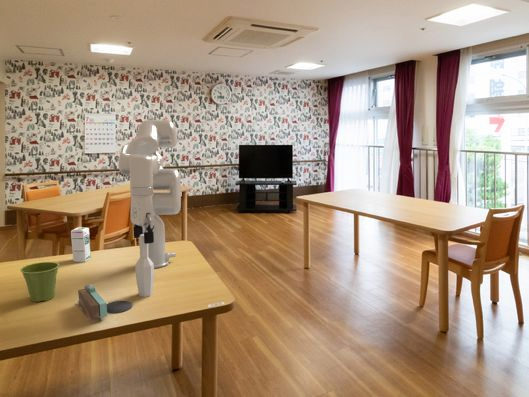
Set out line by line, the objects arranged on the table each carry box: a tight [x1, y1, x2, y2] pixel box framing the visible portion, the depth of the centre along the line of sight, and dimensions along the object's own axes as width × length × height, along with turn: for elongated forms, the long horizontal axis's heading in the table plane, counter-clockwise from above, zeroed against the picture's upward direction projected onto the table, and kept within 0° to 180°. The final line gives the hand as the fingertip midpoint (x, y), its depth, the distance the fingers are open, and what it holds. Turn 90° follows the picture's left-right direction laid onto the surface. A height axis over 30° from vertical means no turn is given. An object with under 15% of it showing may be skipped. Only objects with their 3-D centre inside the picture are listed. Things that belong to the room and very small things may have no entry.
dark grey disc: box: [107, 300, 133, 314], centre depth 136 cm, size 9×9×1 cm
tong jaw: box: [88, 285, 108, 319], centre depth 131 cm, size 2×14×6 cm, turn 37°
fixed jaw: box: [77, 284, 100, 324], centre depth 132 cm, size 5×18×6 cm, turn 38°
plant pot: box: [20, 261, 60, 303], centre depth 141 cm, size 12×12×11 cm
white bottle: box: [134, 234, 155, 298], centre depth 145 cm, size 6×6×22 cm
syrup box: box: [70, 226, 92, 263], centre depth 183 cm, size 6×6×14 cm
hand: (143, 240), depth 143 cm, fingers open, 9 cm apart
